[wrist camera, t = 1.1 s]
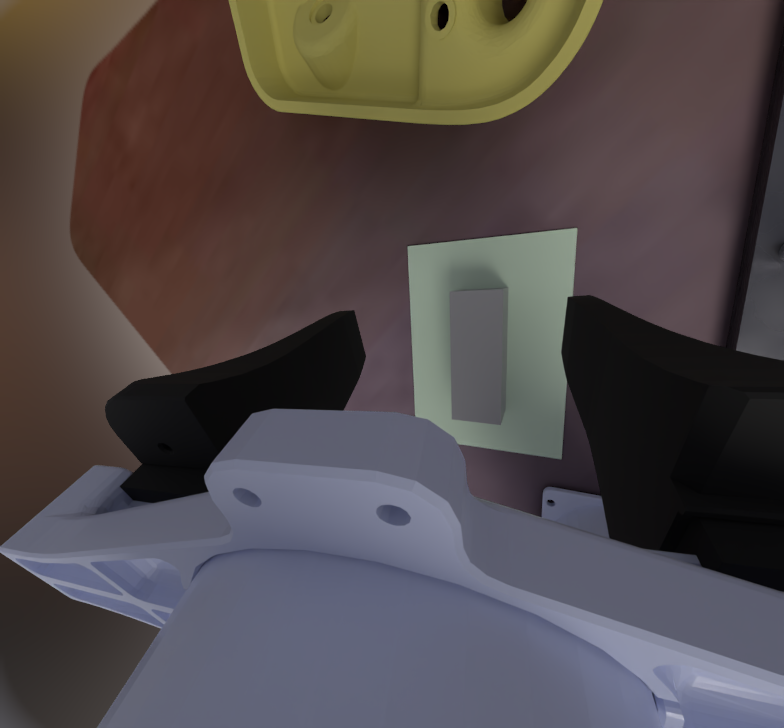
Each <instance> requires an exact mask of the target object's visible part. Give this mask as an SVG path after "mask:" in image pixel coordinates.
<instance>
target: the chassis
mask: <svg viewBox="0 0 784 728" xmlns="http://www.w3.org/2000/svg"><path fill="white" fill-rule="evenodd" d="M726 348H729V349H733V350H737V351H741V352H745V353H750V354H754V355H759V356H764V357H769V358H774V359H779V360H784V29H783V35H782V40H781V46H780V51H779V57H778V63H777V68H776V74H775V79H774V85H773V90H772V96H771V101H770V107H769V113H768V118H767V124H766V129H765V135H764V140H763V146H762V151H761V157H760V163H759V168H758V174H757V179H756V185H755V190H754V196H753V201H752V207H751V213H750V218H749V224H748V229H747V235H746V240H745V246H744V252H743V257H742V263H741V268H740V274H739V279H738V285H737V290H736V296H735V302H734V307H733V313H732V318H731V324H730V329H729V335H728V340H727V346H726Z"/></svg>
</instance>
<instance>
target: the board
mask: <svg viewBox="0 0 784 728" xmlns="http://www.w3.org/2000/svg"><path fill="white" fill-rule="evenodd" d="M576 241H577V228H572V229H563V230H554V231H545V232H535V233H526V234H517V235H508V236H498V237H489V238H480V239H471V240H461V241H452V242H443V243H434V244H425V245H415V246H408V268H409V289H410V311H411V333H412V355H413V377H414V399H415V417H419V418H424V419H428V420H430V421H431V422H433V423H434V424H435V425H437V426H438V427H440V428H441V429H443V430H444V431H445V432H447V433H448V434H450V435H451V436H453V437H454V438H455V440H456V442H457V444H461V445H468V446H475V447H482V448H488V449H495V450H502V451H508V452H515V453H522V454H529V455H535V456H542V457H549V458H555V459H562V446H563V432H564V417H565V402H566V388H567V379H566V376H565V371H564V366H563V360H562V355H561V349H562V340H563V332H564V323H565V315H566V307H567V298H568V297H571V296H573V285H574V270H575V255H576Z"/></svg>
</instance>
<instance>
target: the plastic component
mask: <svg viewBox="0 0 784 728" xmlns="http://www.w3.org/2000/svg"><path fill="white" fill-rule="evenodd" d="M602 2H603V0H527V2H526V4H525V6H524V7H523V9H522V10H521V11H520V13H519V14H518V15H517V16H516V17H515V18H514V19H513V20H512V21H510V22H509V21H508V20H507V19H506V18H505V16H504V12H503V8H502V0H229V4H230V8H231V12H232V16H233V20H234V25H235V29H236V33H237V37H238V42H239V46H240V50H241V54H242V58H243V63H244V66H245V69H246V72H247V75H248V77H249V79H250V81H251V83H252V86H253V88H254V89H255V91H256V92H257V94H258V95H259V97H260V98H261V99H262V100H263V101H264V102H265V103H266V104H267V105H268V106H269V107H270V108H272V109H274V110H276V111H279V112H290V113H302V114H313V115H325V116H337V117H349V118H361V119H373V120H384V121H396V122H408V123H420V124H440V125H467V124H476V123H485V122H489V121H493V120H496V119H500V118H503V117H505V116H507V115H510V114H512V113H514V112H516V111H518V110H520V109H521V108H523V107H525V106H526V105H528V104H530V103H531V102H532V101H534V100H535V99H536V98H537V97H539V96H540V95H541V94H543V93H544V92H545V91H546V90H547V89H548V88H549V87H550V86H551V85H552V84H553V83H554V82H555V81H556V79H557V78H558V77H559V76H560V75H561V74H562V72H563V71H564V70H565V69H566V67H567V66H568V65H569V64H570V62H571V61H572V59H573V58H574V56H575V55H576V54H577V52H578V51H579V49H580V48H581V46H582V44H583V42H584V41H585V39H586V37H587V35H588V34H589V32H590V30H591V27H592V25H593V23H594V21H595V19H596V17H597V14H598V12H599V10H600V7H601V5H602ZM444 3H445V4H446V5H447V6H448V10H449V19H448V22H447V24H446V26H445V28H444V29H442V30H440V28H439V26H438V10H439V8H440V6H441V5H442V4H444ZM329 15H330V16H329ZM327 16H329V17H328V19H327V20H325V21H324V19H325V18H326V17H327ZM323 21H324V22H323Z"/></svg>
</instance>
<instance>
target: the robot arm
mask: <svg viewBox="0 0 784 728" xmlns="http://www.w3.org/2000/svg"><path fill="white" fill-rule="evenodd" d="M561 355H562V360H563V366H564V371H565V376H566V379H567V382H568V385H569V387H570V390H571V393H572V396H573V398H574V401H575V404H576V406H577V409H578V411H579V414H580V417H581V420H582V422H583V425H584V428H585V430H586V433H587V437H588V440H589V443H590V447H591V452H592V456H593V460H594V464H595V469H596V473H597V478H598V483H599V487H600V492H601V496H599V495H593V494H588V493H582V492H577V491H571V490H566V489H561V488H555V487H546V488H545V489H544V490H543V501H542V517H539V516H536V515H533V514H529V513H526V512H523V511H520V510H517V509H513V508H510V507H507V506H504V505H500V504H497V503H494V502H491V501H487V500H484V499H481V498H478V497H475V496H473V495H472V494H471V493H470V491H469V488H468V484H467V475H466V462H465V459H464V456H463V454H462V452H461V450H460V448H459V446H458V444H457V442H456V440H455V438H454V437H453V436H451V435H450V434H448V433H447V432H445V431H444V430H443V429H441V428H440V427H438V426H437V425H435V424H434V423H433V422H431V421H430V420H428V419H424V418H419V417H415V416H411V415H406V414H402V413H397V412H372V411H343V410H344V408H345V406H346V404H347V402H348V400H349V398H350V396H351V394H352V392H353V390H354V388H355V386H356V384H357V382H358V380H359V378H360V375H361V372H362V369H363V365H364V362H365V358H366V355H365V351H364V347H363V343H362V339H361V335H360V331H359V327H358V324H357V320H356V316H355V312H354V310H352V311H339V312H336V313H333V314H331V315H328V316H326V317H324V318H322V319H320V320H318V321H316V322H315V323H313V324H311V325H309V326H307V327H305V328H303V329H301V330H300V331H298V332H296V333H294V334H292V335H290V336H288V337H286V338H284V339H282V340H280V341H278V342H276V343H273V344H271V345H269V346H267V347H264V348H262V349H259V350H257V351H254V352H252V353H249V354H246V355H244V356H240V357H237V358H234V359H231V360H228V361H225V362H222V363H218V364H215V365H211V366H207V367H203V368H199V369H195V370H191V371H186V372H181V373H176V374H171V375H165V376H159V377H153V378H148V379H141V380H138V381H135V382H133V383H131V384H130V385H128V386H127V387H126V388H125V389H123V390H122V391H120V392H119V393H118V394H116V395H115V396H113V397H112V398H111V399H110V400H108V401H107V404H106V406H105V412H106V418H107V420H108V422H109V425H110V426H111V428H112V429H113V430H114V432H115V433H116V434H117V436H118V437H119V438H120V439H121V440H122V441H123V443H124V444H125V445H126V446H127V447H128V448H129V449H130V451H131V452H132V453H133V454H134V455H135V456H136V457H137V459H138V460H139V461H140V462H141V463H143V464H142V465H141V466H140V467H139V468H138V469H137V470H136V471H135V472H134V473H133V472H131V471H129V470H127V469H125V468H120V467H111V466H101V465H96V466H93V467H92V468H91V469H90V470H89V471H87V472H86V473H85V474H84V475H83V476H82V477H80V478H79V479H78V480H77V481H76V482H75V483H74V484H72V485H71V486H70V487H69V488H68V489H67V490H66V491H64V492H63V493H62V494H61V495H60V496H58V497H57V498H56V499H55V500H54V501H53V502H52V503H50V504H49V505H48V506H47V507H46V508H45V509H44V510H42V511H41V512H40V513H39V514H38V515H36V517H34V518H33V519H32V520H31V521H30V522H28V523H27V524H26V525H25V526H24V527H22V528H21V529H20V530H19V531H18V532H17V533H16V534H14V535H13V536H12V537H11V538H10V539H9V540H7V541H6V543H4V544H3V545H2V546H1V547H0V553H2V554H3V555H5V556H7V557H8V558H10V559H11V560H13V561H14V562H16V563H17V564H19V565H21V566H22V567H24V568H25V569H26V570H28V571H30V572H31V573H33V574H34V575H36V576H37V577H39V578H41V579H42V580H43V581H45V582H47V583H48V584H50V585H51V586H53V587H54V588H56V589H57V590H59V591H60V592H62V593H63V594H65V595H67V596H68V597H70V598H71V599H74V600H78V601H81V602H85V603H88V604H92V605H95V606H98V607H101V608H104V609H108V610H110V611H113V612H116V613H119V614H122V615H125V616H128V617H131V618H134V619H136V620H139V621H142V622H145V623H147V624H150V625H153V626H156V627H158V628H161V630H160V632H159V633H158V635H157V636H156V638H155V639H154V641H153V643H152V644H151V646H150V647H149V649H148V650H147V652H146V653H145V655H144V656H143V658H142V659H141V661H140V662H139V664H138V666H137V667H136V669H135V670H134V672H133V673H132V675H131V676H130V678H129V679H128V681H127V683H126V684H125V686H124V687H123V689H122V690H121V692H120V693H119V695H118V696H117V698H116V699H115V701H114V703H113V704H112V706H111V707H110V709H109V710H108V712H107V713H106V715H105V716H104V718H103V719H102V721H101V722H100V724H99V726H98V727H97V728H784V360H779V359H774V358H769V357H764V356H759V355H754V354H750V353H745V352H741V351H737V350H733V349H729V348H724V347H721V346H717V345H713V344H709V343H706V342H703V341H700V340H696V339H693V338H690V337H687V336H684V335H681V334H678V333H675V332H672V331H670V330H667V329H664V328H662V327H659V326H657V325H655V324H652V323H650V322H647V321H645V320H643V319H641V318H638V317H636V316H634V315H632V314H630V313H628V312H626V311H623V310H621V309H619V308H617V307H615V306H613V305H611V304H609V303H607V302H605V301H603V300H601V299H599V298H596V297H594V296H591V295H587V296H571V297H568V298H567V307H566V315H565V323H564V332H563V340H562V349H561ZM547 500H553V501H554V503H549V502H548V501H547Z"/></svg>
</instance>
